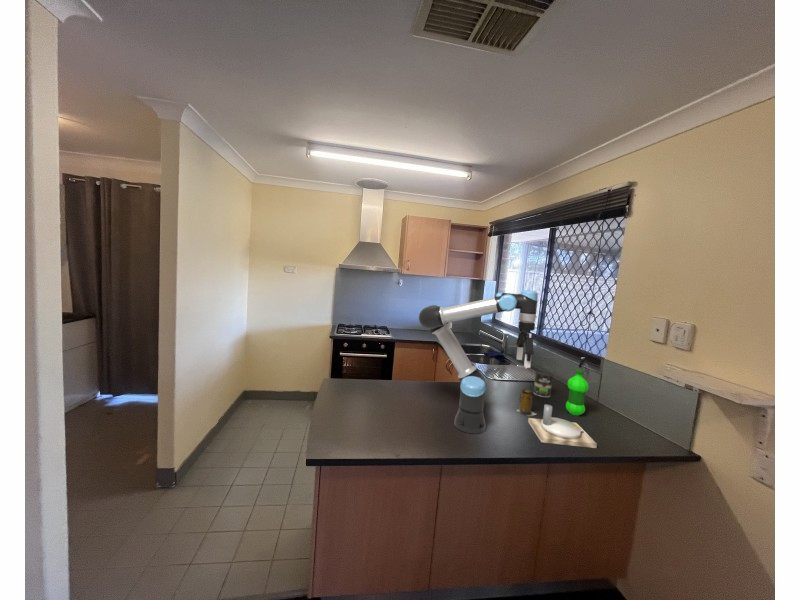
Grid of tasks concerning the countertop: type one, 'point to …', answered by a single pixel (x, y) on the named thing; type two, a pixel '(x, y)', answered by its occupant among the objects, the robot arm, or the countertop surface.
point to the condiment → (526, 403)
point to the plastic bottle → (577, 393)
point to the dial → (559, 425)
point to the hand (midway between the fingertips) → (522, 363)
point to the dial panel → (549, 438)
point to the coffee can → (542, 383)
